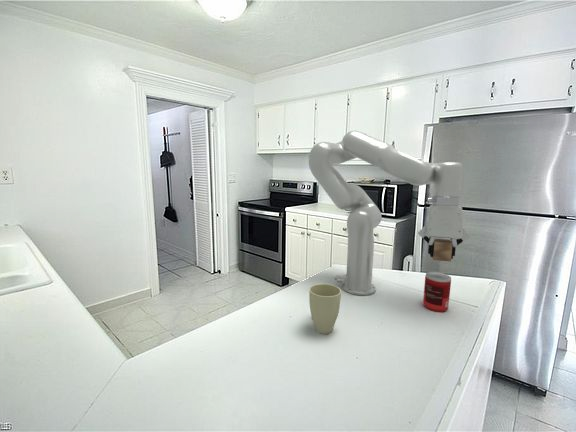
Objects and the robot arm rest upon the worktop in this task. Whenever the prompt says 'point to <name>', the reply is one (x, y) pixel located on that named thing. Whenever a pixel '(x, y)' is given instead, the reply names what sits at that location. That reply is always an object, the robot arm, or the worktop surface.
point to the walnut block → (442, 250)
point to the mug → (324, 306)
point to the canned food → (437, 291)
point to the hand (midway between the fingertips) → (440, 256)
